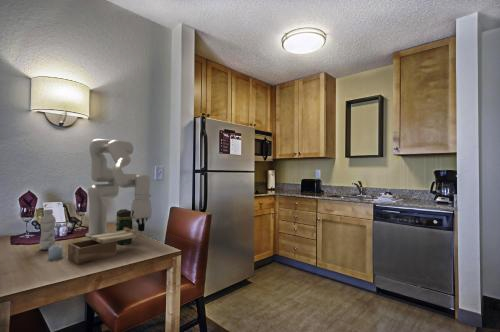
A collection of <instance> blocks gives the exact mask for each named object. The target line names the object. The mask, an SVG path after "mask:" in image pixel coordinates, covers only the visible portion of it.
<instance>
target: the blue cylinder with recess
mask: <svg viewBox="0 0 500 332" xmlns="http://www.w3.org/2000/svg"><path fill="white" fill-rule="evenodd" d="M63 249H64V247H63V245H55V246H54V247H50V248H49V249H48V260H49V261H54V260H55V259H56V260H59V259H62V258H63V254H64V253H63V251H64V250H63Z"/></svg>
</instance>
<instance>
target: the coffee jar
mask: <svg viewBox="0 0 500 332" xmlns="http://www.w3.org/2000/svg"><path fill="white" fill-rule="evenodd" d="M133 223H134V221H132V218H131V210H129V209H126V208H125V209H119V210H117V211H116V225H115V226H116V230H115V231H121V230H123V228H125V227H126V228H129V229H133ZM132 242H133V238H129V239H124V240H119V241H116V244H118V245H128V244H131V243H132Z"/></svg>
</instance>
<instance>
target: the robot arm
mask: <svg viewBox="0 0 500 332" xmlns="http://www.w3.org/2000/svg"><path fill="white" fill-rule="evenodd" d="M89 144H90V145H89V154H90V159H91V160H90V161H91V164H90V165H91V168H90V169H91V171H90V172H91V173H90V176H91V180H92V181H93V182H96V184H93V185H90V186H89V187H88V189H87V197H88V202H89V205H88V206H89V208H88V211H89V212H88V232H86V233H85V237H86V238H87V237H88V238H91V236H93V235H98V234H104V233H109V232H110V231H108V230H107V216H108V214H107V212H108V210H107V209H108V206H107V203H106V202H105V201H104V200H108V199H115V198H117V197H118V195H119V191H120V188H124V189H126V188H134V199H132V202H131V203H132V204H131V209H130V211H131V218H132V221H133V222H135V223H136V224H137V230H138V231H139V232H145V228H146V227H145V224H146V222H147V221H148V220H150V219H151V218H152V201H151V199H150V198H152V194H151V193H150V187H151V186H150V185H151V184H150V182H151V177H150V175H149V174H141V173H140V174H139V173H124V171H123V169H124V168H126V167H127V166H128V165H129V164H130V163H131V161H132V158H131V157H130V156H131V155H132V154H133V152H134V146H133V144H132V143H131V142H130V141H125V140H119V139H118V140H117V139H106V138H95V139H93V140H92V141H90V143H89ZM105 154H109V155H110V156H111V157H112V159H113V160H112V161H114V164H115V165H114V166H108V159H107V158H106V156H105Z"/></svg>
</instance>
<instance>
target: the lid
mask: <svg viewBox="0 0 500 332" xmlns="http://www.w3.org/2000/svg"><path fill="white" fill-rule="evenodd" d="M108 232H109V233H104V234H98V235H93V236H91V237H90V240H91V239H92V240H94V241H97V242H99V243H102V244H105V243H110V242H114V241H119V240H124V239H129V238H132V239H133V238H137V237H138V233H137V230H136V229H133V228H132V229H129V228H126V227H125V228H123V230H121V231H116V230H115V231H108Z"/></svg>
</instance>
